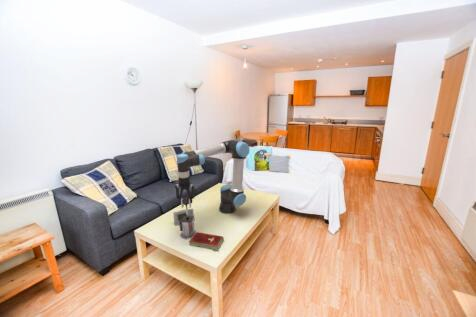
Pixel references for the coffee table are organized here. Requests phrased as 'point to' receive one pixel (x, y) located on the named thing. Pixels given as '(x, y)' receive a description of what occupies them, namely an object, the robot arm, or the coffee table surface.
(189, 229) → the grey blocky piece
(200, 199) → the coffee table surface
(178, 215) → the digital clock
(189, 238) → the trivet
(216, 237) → the hardcover book
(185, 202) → the ball knob lever
